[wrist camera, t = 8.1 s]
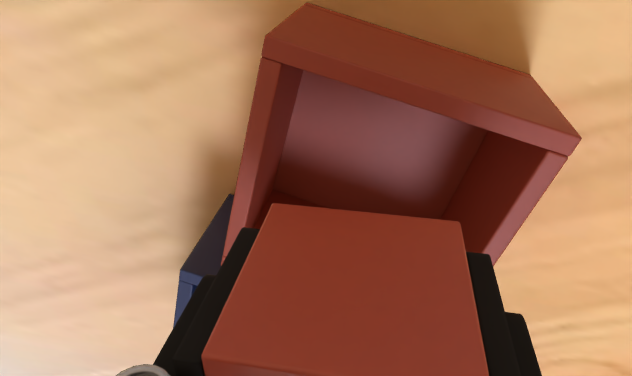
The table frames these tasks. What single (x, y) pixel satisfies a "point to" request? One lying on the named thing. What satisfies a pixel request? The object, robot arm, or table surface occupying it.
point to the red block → (350, 299)
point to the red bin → (395, 131)
